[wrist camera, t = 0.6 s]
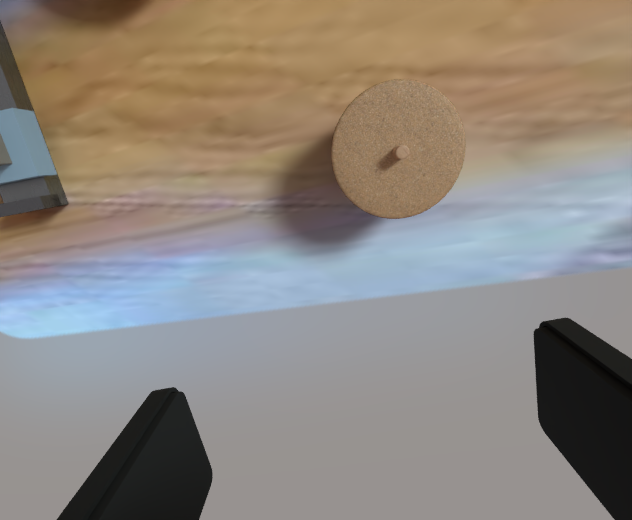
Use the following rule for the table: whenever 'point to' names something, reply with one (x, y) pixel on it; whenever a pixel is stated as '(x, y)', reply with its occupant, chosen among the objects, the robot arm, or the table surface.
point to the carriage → (22, 147)
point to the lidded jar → (398, 148)
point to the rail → (43, 192)
